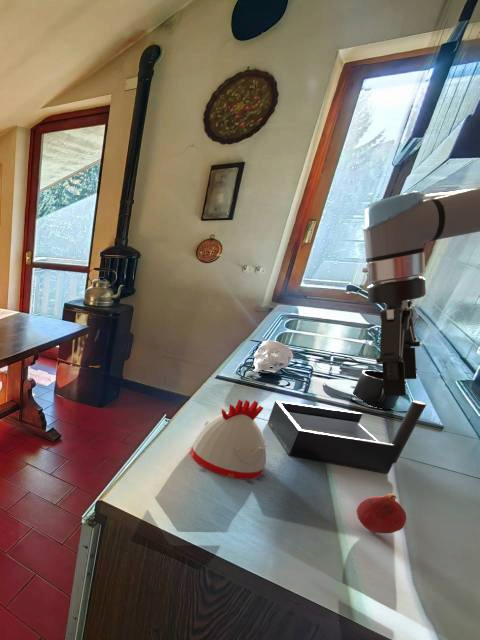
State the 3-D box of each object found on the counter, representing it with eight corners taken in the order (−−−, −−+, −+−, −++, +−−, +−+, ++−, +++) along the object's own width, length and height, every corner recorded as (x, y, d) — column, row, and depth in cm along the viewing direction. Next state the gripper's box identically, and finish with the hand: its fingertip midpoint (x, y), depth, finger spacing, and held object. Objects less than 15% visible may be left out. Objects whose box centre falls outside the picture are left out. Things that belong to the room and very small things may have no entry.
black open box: (350, 436, 99) (361, 412, 96) (387, 474, 84) (402, 447, 81) (267, 423, 105) (275, 400, 102) (288, 456, 90) (298, 430, 87)
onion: (391, 549, 64) (413, 511, 61) (345, 528, 68) (364, 492, 65) (398, 534, 67) (419, 497, 64) (354, 515, 72) (372, 479, 69)
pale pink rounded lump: (240, 366, 143) (257, 336, 142) (250, 378, 151) (265, 351, 151) (273, 374, 134) (291, 343, 134) (281, 387, 143) (298, 358, 143)
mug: (353, 407, 115) (366, 379, 111) (348, 394, 124) (359, 368, 120) (398, 416, 109) (413, 387, 106) (389, 402, 118) (402, 374, 115)
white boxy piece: (364, 437, 96) (390, 381, 91) (398, 468, 84) (431, 406, 78) (275, 422, 103) (294, 370, 97) (295, 450, 90) (318, 391, 84)
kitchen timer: (278, 479, 82) (302, 416, 76) (213, 479, 81) (233, 415, 76) (235, 444, 94) (254, 387, 89) (179, 443, 94) (194, 387, 88)
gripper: (379, 279, 85) (385, 373, 88) (352, 290, 71) (360, 402, 74) (433, 270, 79) (437, 372, 82) (414, 281, 65) (420, 403, 68)
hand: (401, 386), depth 78 cm, fingers open, 13 cm apart
